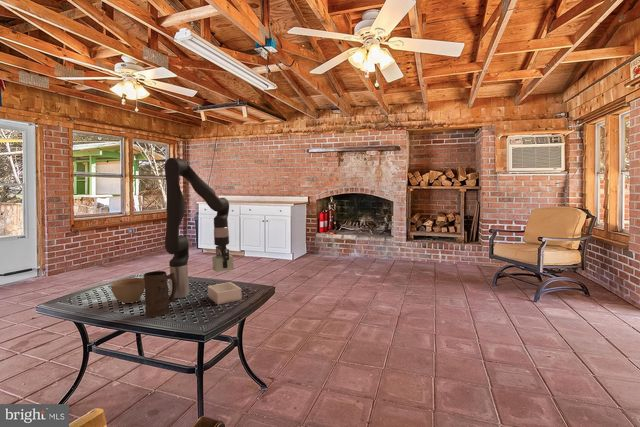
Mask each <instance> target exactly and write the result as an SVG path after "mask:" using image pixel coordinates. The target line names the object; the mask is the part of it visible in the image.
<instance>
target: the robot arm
mask: <svg viewBox="0 0 640 427" xmlns="http://www.w3.org/2000/svg"><path fill="white" fill-rule="evenodd" d="M164 176H165V183H166V185H165V186H166V188H165V189H166V205H165V206H166V229H165V237H164V238H165V239H164V248H165V251H166V253H167V254H170V255H173V256H172V258H171V259H170V260H169V261H168V262H169V274H170V273H174V275H175V279H176V281H177V289H176V293H175V296H174V297H175V299H180V298H181V299H182V298H186V297H188V296H190V286H189V285H190V284H189V283H190V280H189V267H188V261H189V257H190V256H189V254H190V251H189V250H190V247H189V241H188V239H187V237H186V236H184V235H180V234H179V233H180V232H179V229H180V226H181V223H182V221H183V219H184V217H185V213H186V201H185V196H184V193H183V192H182V189H181V187H180V177H182V178H183V179H185V180H187V182H188V183H189V184H190V185H191V187H192V189H193V190H194V191H195V194H197V195H198V196H200V198H202V199H203V201H204V202H205V203H206V205H208V207H209V208H210V209H211V210H212V211H214V212H216V215H215V216H214V217H213V239H214V240H213V244H214V246H215V256H221V257H222V260H223V268H227V267H228V266H227V261H228V260H229V255H230V252H229V251H230V249H229V248H227V246H228V245H229V244H230V235H229V234H230V233H229V232H230V231H229V222H228V218H229V212H230V202H229V201H228V199H227V198H226V197H219V196H217V195H216V191H215V189H213V188H212V187H211V186H209V185H208V184H207V182H205V181H204V180H203V179H202V178H201V177H200V176H199V175H198V174H197V173H196V172H195V170H194V169H193V167H191V165H189V163H188V162H187V161H186V160H185V159H183V158H180V157H179V158H178V157H169V158H167V159H166V160H165V163H164ZM225 257H226V258H225ZM169 292H170V296H171V293H172V280H171V279H169ZM170 296H169V297H170Z"/></svg>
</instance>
